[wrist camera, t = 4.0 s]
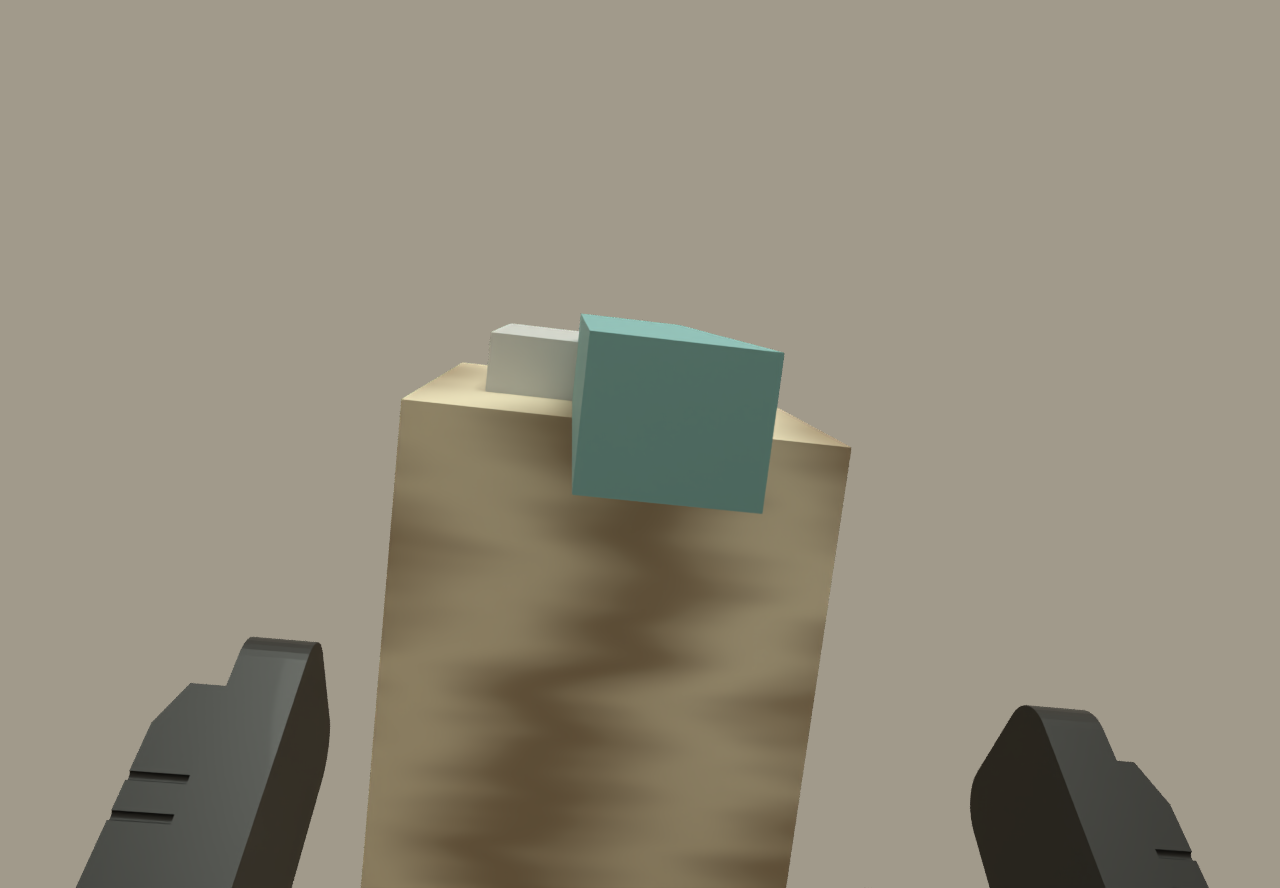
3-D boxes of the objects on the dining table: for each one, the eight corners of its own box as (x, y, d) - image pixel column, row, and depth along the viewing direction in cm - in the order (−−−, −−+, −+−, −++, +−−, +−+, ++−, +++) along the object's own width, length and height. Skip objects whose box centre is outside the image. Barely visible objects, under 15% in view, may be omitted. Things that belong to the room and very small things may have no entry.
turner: (713, 391, 33) (721, 326, 33) (918, 530, 14) (944, 371, 13) (506, 368, 33) (512, 302, 32) (405, 478, 13) (419, 311, 13)
